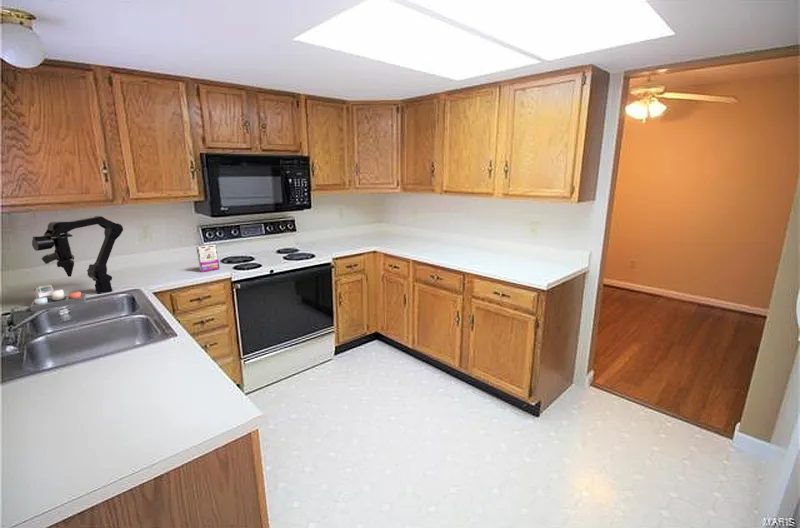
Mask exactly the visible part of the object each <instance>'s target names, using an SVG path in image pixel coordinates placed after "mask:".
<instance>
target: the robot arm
mask: <svg viewBox="0 0 800 528" xmlns="http://www.w3.org/2000/svg"><path fill="white" fill-rule="evenodd" d="M94 225H98V226H100V227H101V228H103V229H104V232H103V234H104V239H103V242H102V244H101V248H100V249H99V252H98V255H97V257H96V260H95V262H94V263H89V265H88V269H87V270H86V272H87V276H88V277H89V278H90V279H91V280H93V281H94V282H95V283H94V289H95V292H96V293H97V295H98V294H104V293H110V292H113V287H112V283H111V281H112V280H113V276H112V275H110V274H108V266H107V263H108V260H109V258H110V255H111V253H112V251H113V247H114V244H115V242H116V240H117V239H118V238H119V237H120V236H121V235H122V232H123V231H124V227H123V225H122V224H121V223H117V222H114V221H111V220H109V219H107V218H105V217H103V216H100V215H95V216H92V217H86V218H81V219H76V220H70V221H63V220H62V221H51V222H49V223H48V224H47V229H46V230H45V232H44V234H43V235H40V236H38V235H37V236H32V241H31V245H32V248H33V249H34V250H35V251H36V252H38V251H43V250H44V251H46V250H50V249H53V247H54V252H52V253H48V254H46V255H44V256H42V257H41V260H42V261H43V262H44V263H45V265H47V264H49V263H51V262H54V261H56V267H57V268H62V269H63V270H64V271H65V274H66V275H67V277H68V278H69V277H72V274H73V270H74V267H75V256H74V254H73V253H72V249H71V245H70V243H69V242H70V241H69V237H70V238H71V237H73V234H71V233H69V232H71V231H72V230H75V229H80V228H84V227H85V228H86V227H89V226H94Z"/></svg>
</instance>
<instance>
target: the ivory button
mask: <svg viewBox="0 0 800 528" xmlns="http://www.w3.org/2000/svg"><path fill="white" fill-rule="evenodd" d="M51 296H52V297H51V298H52V299H53V300H61V299H64V298H65V296H66V295H65V293H64V290H63V289H55V290H53V291H52V292H51Z"/></svg>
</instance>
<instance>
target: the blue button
mask: <svg viewBox="0 0 800 528" xmlns="http://www.w3.org/2000/svg"><path fill="white" fill-rule="evenodd" d="M47 299H48V298H47V297H41V298H36V297H35V299H33V301H34V302H35V304H41V303H48V300H47Z"/></svg>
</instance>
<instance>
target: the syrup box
mask: <svg viewBox="0 0 800 528" xmlns="http://www.w3.org/2000/svg"><path fill="white" fill-rule="evenodd" d="M52 291H54V288H53V286H52V284H46V285H45V284H44V285H39V286H35V288H34V296H35V299H36V298H41V297H47V299H49V298H52V296H51V292H52Z"/></svg>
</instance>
